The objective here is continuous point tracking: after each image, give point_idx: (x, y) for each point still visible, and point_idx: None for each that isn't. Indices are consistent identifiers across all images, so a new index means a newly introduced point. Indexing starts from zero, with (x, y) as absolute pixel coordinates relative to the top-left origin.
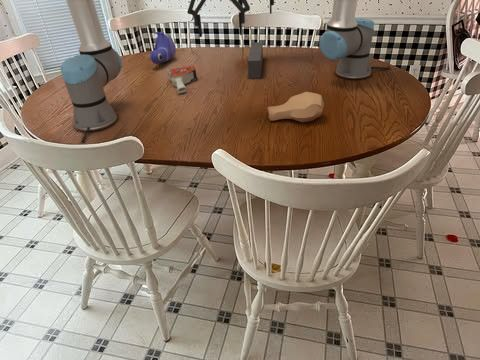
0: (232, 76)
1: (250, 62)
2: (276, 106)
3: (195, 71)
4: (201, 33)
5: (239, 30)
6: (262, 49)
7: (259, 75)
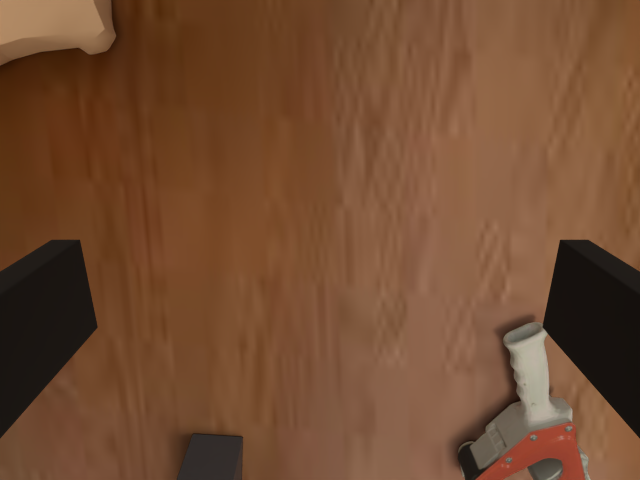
0: (309, 462)
1: None
2: (56, 28)
3: (468, 474)
4: (569, 290)
5: (48, 261)
6: None
7: (194, 443)
